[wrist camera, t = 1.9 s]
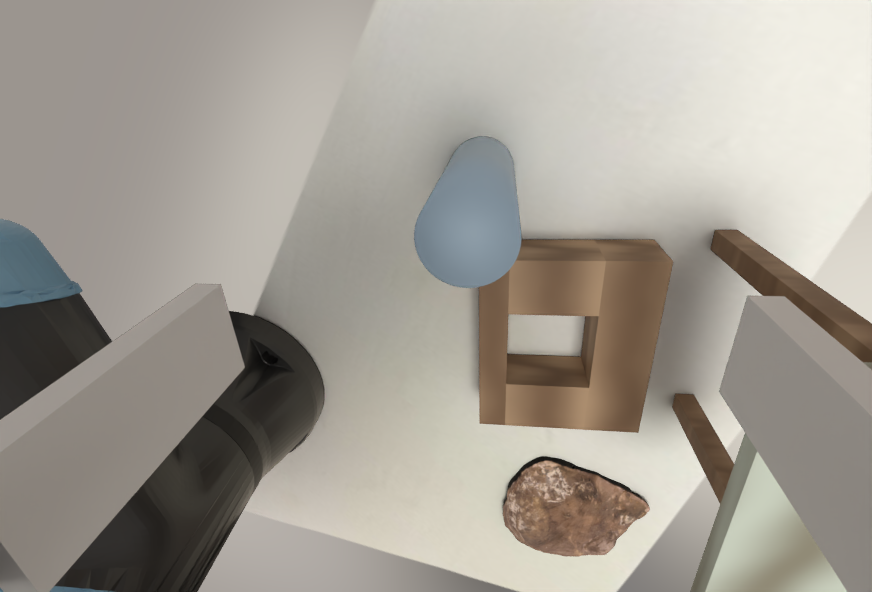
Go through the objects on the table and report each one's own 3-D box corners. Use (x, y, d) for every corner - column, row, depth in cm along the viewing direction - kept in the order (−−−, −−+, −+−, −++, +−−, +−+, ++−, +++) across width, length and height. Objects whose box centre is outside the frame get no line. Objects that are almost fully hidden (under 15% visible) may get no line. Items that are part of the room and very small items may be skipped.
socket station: (481, 400, 40) (468, 602, 25) (481, 226, 33) (463, 362, 18) (693, 411, 37) (820, 642, 22) (743, 225, 30) (980, 382, 15)
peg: (450, 202, 32) (417, 287, 20) (448, 137, 30) (410, 186, 18) (513, 201, 32) (519, 288, 19) (515, 135, 30) (523, 185, 17)
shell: (585, 558, 48) (591, 593, 45) (480, 511, 47) (479, 543, 44) (655, 497, 43) (668, 531, 40) (540, 442, 42) (543, 473, 39)
